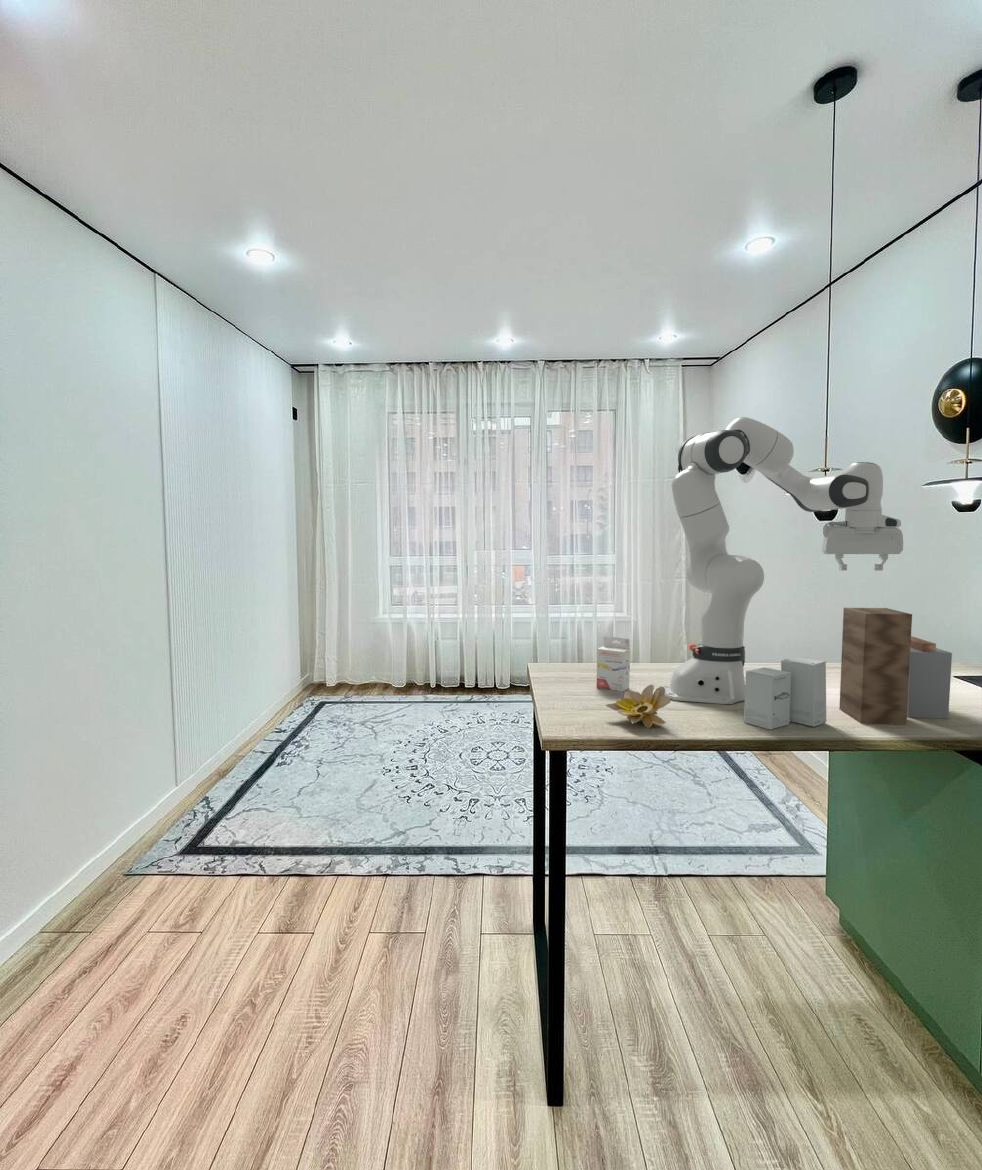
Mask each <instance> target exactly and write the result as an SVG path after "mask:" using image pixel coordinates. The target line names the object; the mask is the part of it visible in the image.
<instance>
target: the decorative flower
mask: <svg viewBox="0 0 982 1170" xmlns="http://www.w3.org/2000/svg"><path fill="white" fill-rule="evenodd" d="M654 689H655V684H648V685H647V686H645V688H644V689H643V690H642V692H641V693H640V692H638V691H634V690H625V691H624V694H623V697H621V698H620V697H619V698H618V700H616V701H615V702H614V703H607V704H604V706H605V707H608V708H609V709H611V710H613V711H615V712H617V714H619V715H621V716H625V717H627V718H629V720H630V722H631V723H632V724H636V723H637V722H642V724H643V725H644V727H645V728H647V729H650V728H651V727H652V725H653V723H654V724H657V725H664V724H666V723H667V722H666V721H665V720H663V718H661V717H660V716H658V712H659V710H660V709H662V708H664V707H666V706H667V705H669V704H670V703H671V702H672V699H670V698H669V697H667V696H665V688H664V686H659V687H656V689H655V690H654Z"/></svg>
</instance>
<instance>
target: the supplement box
mask: <svg viewBox="0 0 982 1170" xmlns="http://www.w3.org/2000/svg"><path fill="white" fill-rule="evenodd" d="M744 680H745V700H744V708H743V709H744V711H743V712H744V713H743V722H744V723H746V724H748V725H751V726H752V725H753V726H756V727H760V728H763V729H766V730H770V731H771V730H773V729H777V728H781V727H784V726H789V725H790V721H789V717H790V693H791V672H786V671H781V669H774V668H768V667H761V668H756V669H750V670H749V669H748V670H746V671H745V679H744Z"/></svg>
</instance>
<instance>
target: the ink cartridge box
mask: <svg viewBox="0 0 982 1170" xmlns="http://www.w3.org/2000/svg"><path fill="white" fill-rule="evenodd" d="M616 641H617V642H620V643H616ZM596 651H597V653H596V688H597V689H604V690H609V689H610V691H615V690H617V692H622V691H624V692H626V691H628V689H630V676H631V675H630V671H631V670H630V669H631V668H630V667H631V664H630V663H631V661H630V660H631V659H630V658H631V649H630V639H629V638H628V637H627V638H626V637H624V638H623V637H619V636H618V637H617V636H615V637H614V636H606V635H604V636H603V646H601V647H598V648H597V650H596Z"/></svg>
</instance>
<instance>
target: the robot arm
mask: <svg viewBox="0 0 982 1170" xmlns="http://www.w3.org/2000/svg"><path fill="white" fill-rule="evenodd" d="M794 453H795V452H794V445H793V441H791V440H790V439H789V438H788V437H787V436H786V435H785V434H783V433H781V432H780V431H778V430H776V429H775V428H773V427H771V426H769V425H767V424H766V423H763V422H761V421H758V420H756V419H753V418H750V417H746V416H741V417H737V418H735V419H734V420H732V421H731V422H730V423H729V424H728V425H727V426H726V428H725V429H721V430H717V431H711V432H710V431H708V432H707V431H706V432H705V433H701V434H698V435H695V436H691V437H689V438H688V439H687V440H686V441H684V442H683V443H682V444H681V446H680V447H679V450H678V452H677V463H678V466H677V471H678V473H677V474H676V475H675V476H674V478H673V479H672V481H671V492H672V497H673V501H674V505H675V509H676V511H677V516H678V518H679V521H680V523H681V525H682V529H683V531H684V534H685V538H686V541H687V545H688V548H689V549H688V550H689V564H688V565H687V569H686V578H687V581H688V582H689V584H690V585H691V586H693V588H695V589H697V590H699V591H702V592H704V593H708V594H709V593H710V594H711V598H710V602H709V605H708V608H707V609H706V610H705V611H704V612H703V613H702V614H701V617H700V639H699V640H700V643H698V644H695V643H689V645H688V650H690V651H691V652H692V657H690V658H689V659H688V660H686V661H685V662H683V663H682V664H680V665H679V666H678V667H676V668H675V669H674V670H673V671H672V675H671V679H670V684H665V685H664V686H663V687H664V688H665V695H664V696H667V697H669V699H670V700H671V701H672V700H673V701H682V702H695V703H696V702H697V703H706V704H707V703H708V704H718V705H719V704H720V705H732V704H735V703H737V702H743V701H745V680H746V679H745V675H744V673H745V672H744V671H745V670H744V667H745V662H746V650H745V649H746V647H745V646H744V633H745V632H744V630H745V620H746V619H745V618H746V614H747V610H748V607H749V604H750V602H751V600H752V598H753V597H754V596H755V595H756V593H758V592H759V591H760V590H761V588H762V586H763V584H764V581H765V573H764V569H763V567H762V565H761V564H760V563H759V562H758V561H756V560H754V559H752V558H750V557H747V556H745V555H737V554H736V555H735V554H730V553H728V551H727V547H726V546H727V545H726V537H727V536H728V534H729V532H730V526H729V523H728V520H727V517H726V515H725V512H724V509H723V506H722V503H721V500H720V498H719V496H718V493H717V490H716V486H715V484H716V481H715V480H716V475H717V474H718V475H719V474H722V473H729V472H731V471H733V470H735V469H737V468H739V466H741V465H742V463H744V464H745V465H747V466H749V467H750V468H752V469H754V470H756V471H758V472H759V473H761V474H762V475H763V476H764V477H765V478H766V479H768V480H769V481H770V482H771V483H773V484H774V485H775V486H777V487H779V488H780V489H782V490H783V491H784V492H786V493H787V494H789V495H790V497H792V499H793V500H794V501H795V503H796V504H797V506H798V507H799V508H800V509H802V510H803V511H805V512H808V513H814V512H820V511H831V510H832V511H833V510H843V509H844V510H845V511H844V513H845V515H844V521H829V522H827V523H825V524H824V525H823V527H822V528H823V529H822V534H823V539H822V546H821V551H822V553H824V555H834V556H835V557H834V558H835V561H836V562H837V563H838V569H839V571H842V572H843V571H847V570H848V564H846V563H844V561H843V559H844V556H845V555H878V557H879V559H880V560H879V561H878V563H874V571H875V572H876V571H877V572H879V571H881V572H882V571H883V570H884V564H885V563H887V561H888V559H889V555H900V554H901V553H902V552H903V551H904V534H903V531H902V529H900V527H901V526H902V521H901V520H900V519H898V518H894V517H891V516H887V515H885V514H883V507H882V505H881V501H882V497H883V494H884V478H883V471H882V468H881V466H880V465H879V464H877V463H874V462H868V461H865V462H864V461H858V462H857V461H856V462H853V463H851V464H850V465H849V466H848V467H847V468H845V469H844V470H842V471H840V472H837V473H835V474H830V475H824V476H823V475H822V476H806V475H804V474H802V473H801V472H800V471H798V470H797V469H796V468H794V467H793V466H791V463H792V460H793V457H794Z"/></svg>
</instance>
